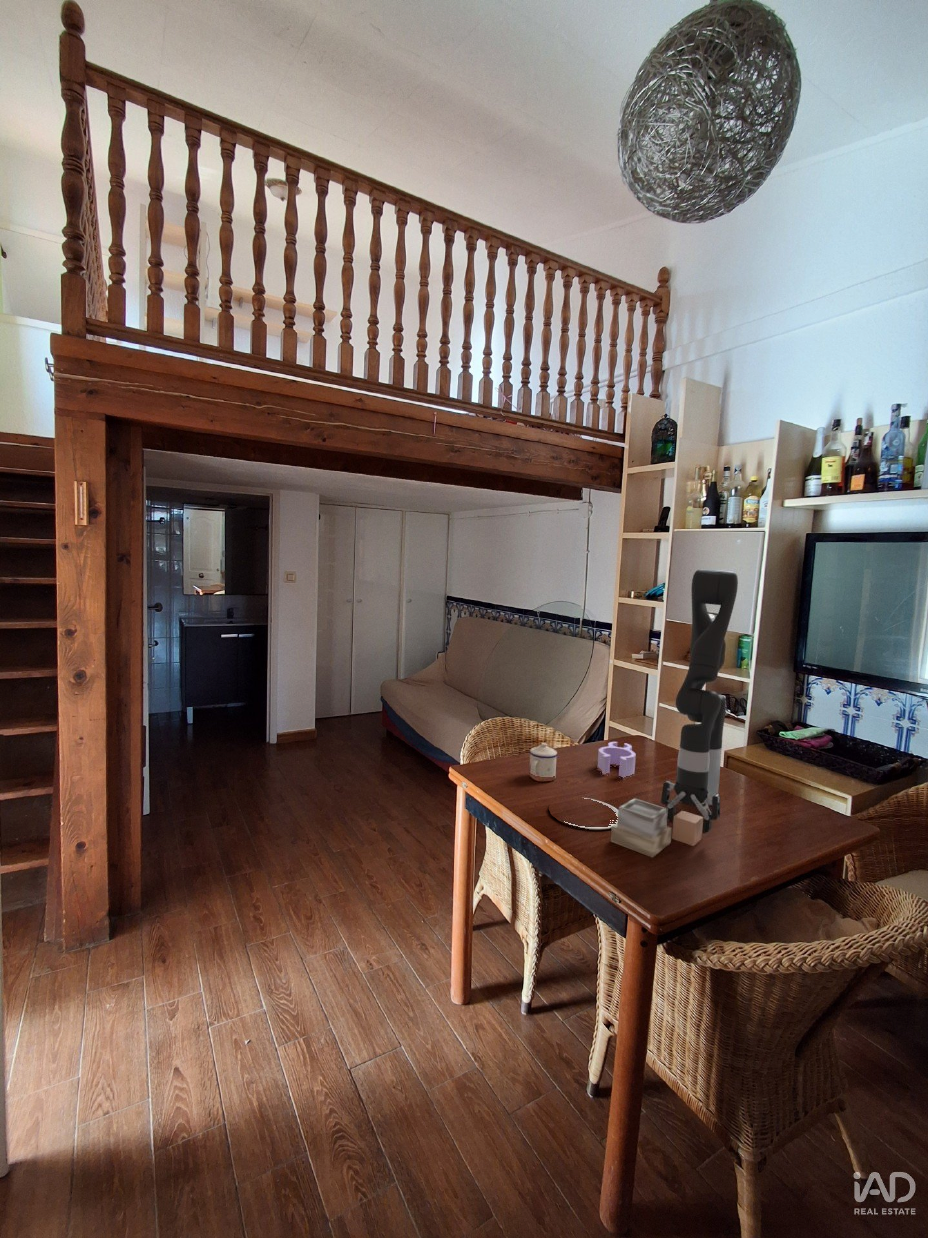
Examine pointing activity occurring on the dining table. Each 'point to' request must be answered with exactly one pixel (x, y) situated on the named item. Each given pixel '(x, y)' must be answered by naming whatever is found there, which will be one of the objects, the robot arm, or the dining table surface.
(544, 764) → the teacup with lid
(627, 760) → the clip
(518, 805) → the dining table surface
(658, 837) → the stepped translucent block
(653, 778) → the dining table surface
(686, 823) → the top block
